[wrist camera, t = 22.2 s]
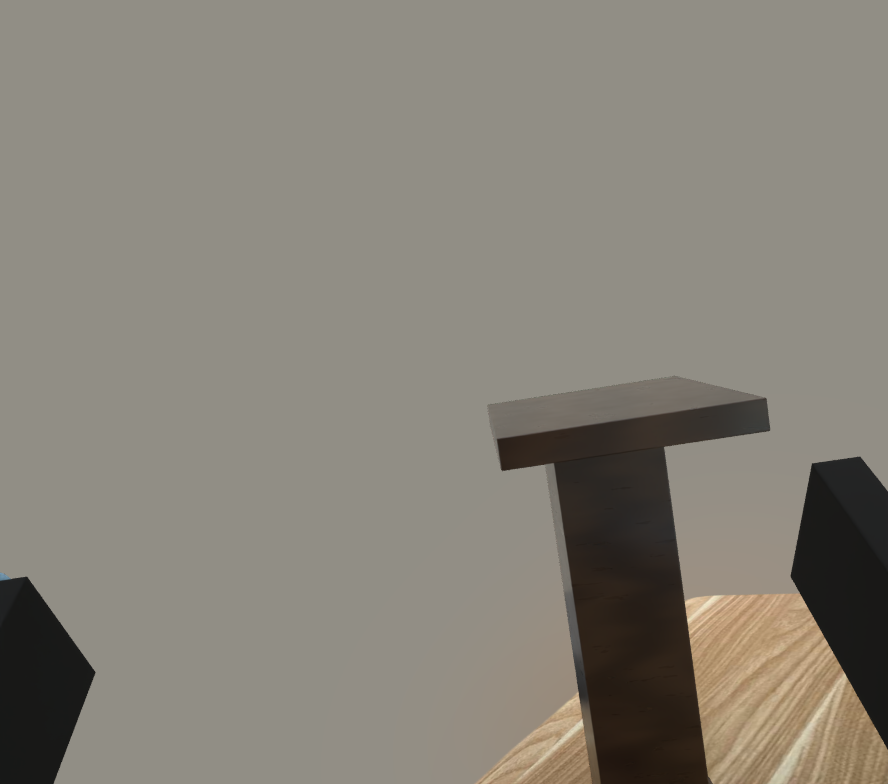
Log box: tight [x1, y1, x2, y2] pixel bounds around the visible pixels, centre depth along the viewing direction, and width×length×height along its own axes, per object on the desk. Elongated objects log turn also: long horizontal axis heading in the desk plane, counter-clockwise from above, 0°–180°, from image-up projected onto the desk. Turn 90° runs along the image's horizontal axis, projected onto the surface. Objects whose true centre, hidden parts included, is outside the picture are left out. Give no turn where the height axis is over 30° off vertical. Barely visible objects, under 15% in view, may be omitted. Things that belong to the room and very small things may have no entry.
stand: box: [487, 376, 770, 784], centre depth 41 cm, size 12×15×28 cm
